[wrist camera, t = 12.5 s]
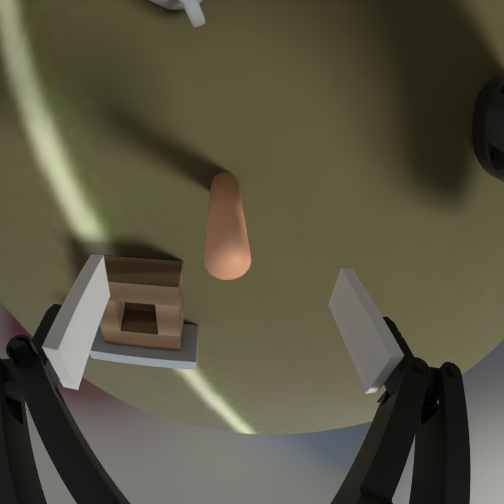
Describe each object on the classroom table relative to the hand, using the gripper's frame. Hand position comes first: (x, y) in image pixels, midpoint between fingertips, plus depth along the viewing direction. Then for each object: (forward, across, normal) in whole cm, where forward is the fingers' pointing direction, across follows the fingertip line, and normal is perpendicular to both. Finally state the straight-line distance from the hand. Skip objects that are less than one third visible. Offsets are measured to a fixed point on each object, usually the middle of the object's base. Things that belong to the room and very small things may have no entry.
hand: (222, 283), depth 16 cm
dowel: (+16, 0, 0) cm, 16 cm away
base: (+16, -8, -20) cm, 28 cm away
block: (+16, -8, -14) cm, 23 cm away
